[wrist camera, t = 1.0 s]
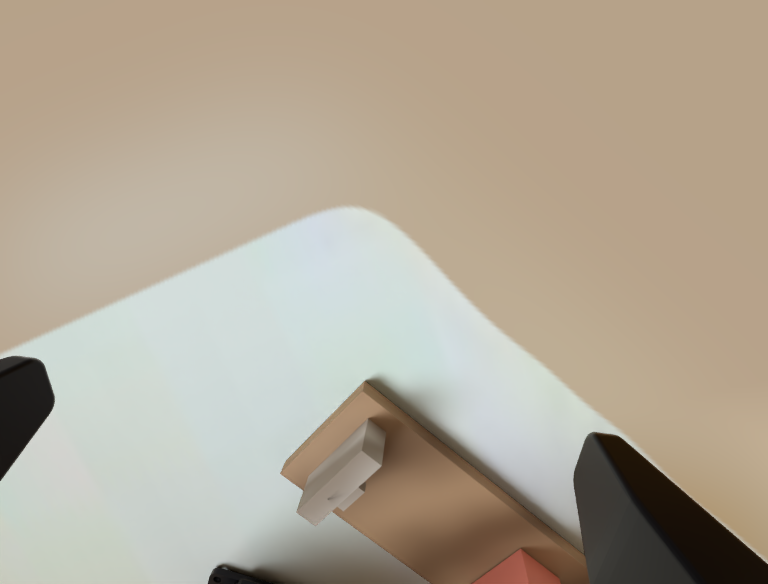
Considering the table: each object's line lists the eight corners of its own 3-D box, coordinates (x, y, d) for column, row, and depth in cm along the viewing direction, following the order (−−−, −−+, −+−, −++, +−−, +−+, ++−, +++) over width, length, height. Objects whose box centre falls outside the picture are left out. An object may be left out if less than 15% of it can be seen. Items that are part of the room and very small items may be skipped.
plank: (650, 607, 26) (683, 675, 23) (559, 662, 28) (577, 731, 25) (364, 380, 23) (355, 421, 20) (285, 461, 25) (264, 509, 22)
